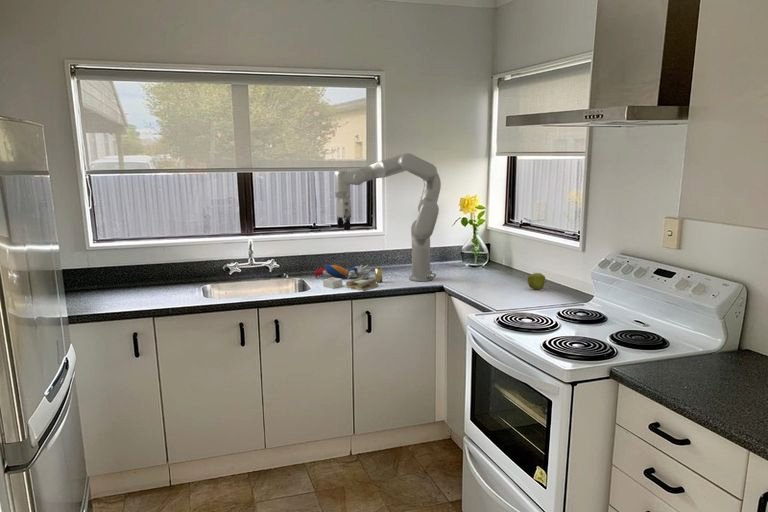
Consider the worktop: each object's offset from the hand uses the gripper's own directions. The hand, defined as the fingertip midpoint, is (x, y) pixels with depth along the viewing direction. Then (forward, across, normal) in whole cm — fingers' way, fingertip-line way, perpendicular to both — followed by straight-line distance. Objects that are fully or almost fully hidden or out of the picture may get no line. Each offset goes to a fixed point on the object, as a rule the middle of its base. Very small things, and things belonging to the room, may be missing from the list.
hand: (343, 228), depth 289 cm
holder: (+28, -7, +10) cm, 30 cm away
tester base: (+28, -15, -3) cm, 31 cm away
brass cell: (+28, -10, -15) cm, 33 cm away
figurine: (+28, +8, -2) cm, 29 cm away
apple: (+28, -59, -76) cm, 100 cm away
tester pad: (+25, -15, -3) cm, 29 cm away
